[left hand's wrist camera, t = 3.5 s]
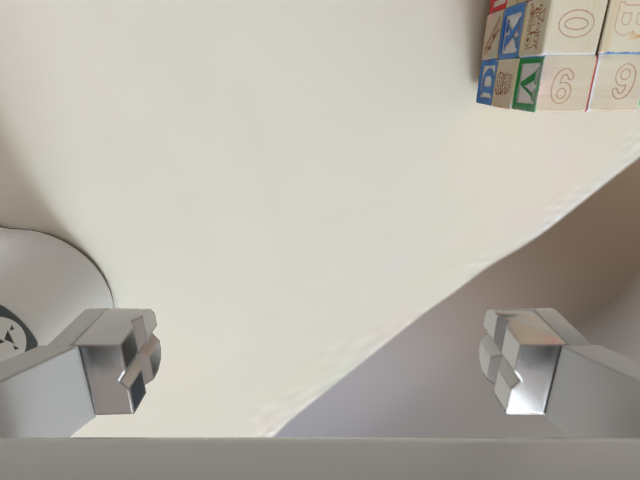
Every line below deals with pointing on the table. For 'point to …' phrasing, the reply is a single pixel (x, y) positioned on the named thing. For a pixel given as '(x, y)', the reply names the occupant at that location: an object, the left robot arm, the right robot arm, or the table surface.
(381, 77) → the table surface
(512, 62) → the stack of blocks
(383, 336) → the table surface
